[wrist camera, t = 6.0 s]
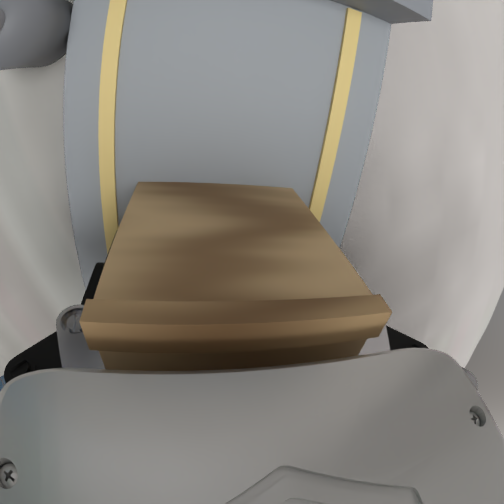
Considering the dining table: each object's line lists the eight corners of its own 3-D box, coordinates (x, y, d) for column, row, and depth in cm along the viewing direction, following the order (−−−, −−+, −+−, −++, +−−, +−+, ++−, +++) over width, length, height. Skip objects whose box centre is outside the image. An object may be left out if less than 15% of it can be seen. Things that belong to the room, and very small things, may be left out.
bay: (381, 0, 8) (462, -13, 4) (297, 342, 19) (321, 407, 15) (30, -21, 5) (-36, -44, 1) (65, 342, 16) (49, 410, 12)
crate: (295, 186, 12) (392, 311, 6) (269, 303, 15) (313, 433, 9) (135, 179, 10) (79, 321, 5) (144, 304, 14) (135, 446, 8)
